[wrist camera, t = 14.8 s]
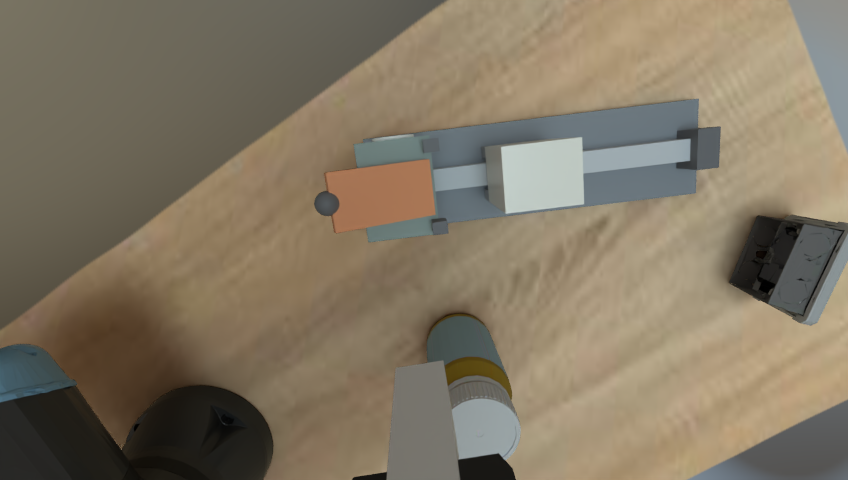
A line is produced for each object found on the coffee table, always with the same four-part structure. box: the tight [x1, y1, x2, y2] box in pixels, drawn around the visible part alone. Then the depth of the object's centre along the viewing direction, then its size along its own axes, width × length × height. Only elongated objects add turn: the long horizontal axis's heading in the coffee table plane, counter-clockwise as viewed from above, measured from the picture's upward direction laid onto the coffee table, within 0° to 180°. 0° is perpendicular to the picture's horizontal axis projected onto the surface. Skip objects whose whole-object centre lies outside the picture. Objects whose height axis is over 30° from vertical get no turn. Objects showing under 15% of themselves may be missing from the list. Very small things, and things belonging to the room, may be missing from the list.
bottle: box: [427, 314, 520, 460], centre depth 38 cm, size 7×7×15 cm
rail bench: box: [354, 99, 721, 242], centre depth 36 cm, size 32×9×10 cm, turn 97°
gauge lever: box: [314, 159, 436, 233], centre depth 31 cm, size 2×4×9 cm
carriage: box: [481, 137, 584, 214], centre depth 35 cm, size 6×5×9 cm
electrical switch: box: [729, 215, 848, 325], centre depth 39 cm, size 9×5×9 cm, turn 166°
